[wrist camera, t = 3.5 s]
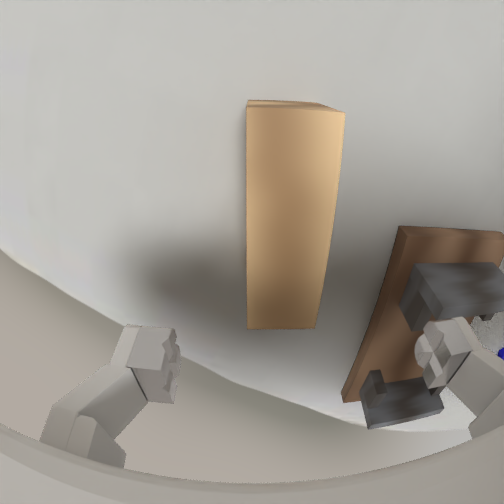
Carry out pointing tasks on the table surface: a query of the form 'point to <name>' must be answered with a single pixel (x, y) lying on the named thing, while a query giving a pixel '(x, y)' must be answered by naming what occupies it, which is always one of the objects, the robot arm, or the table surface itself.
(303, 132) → the top rail
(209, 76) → the table surface
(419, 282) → the wooden clamp fixture
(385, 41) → the table surface
